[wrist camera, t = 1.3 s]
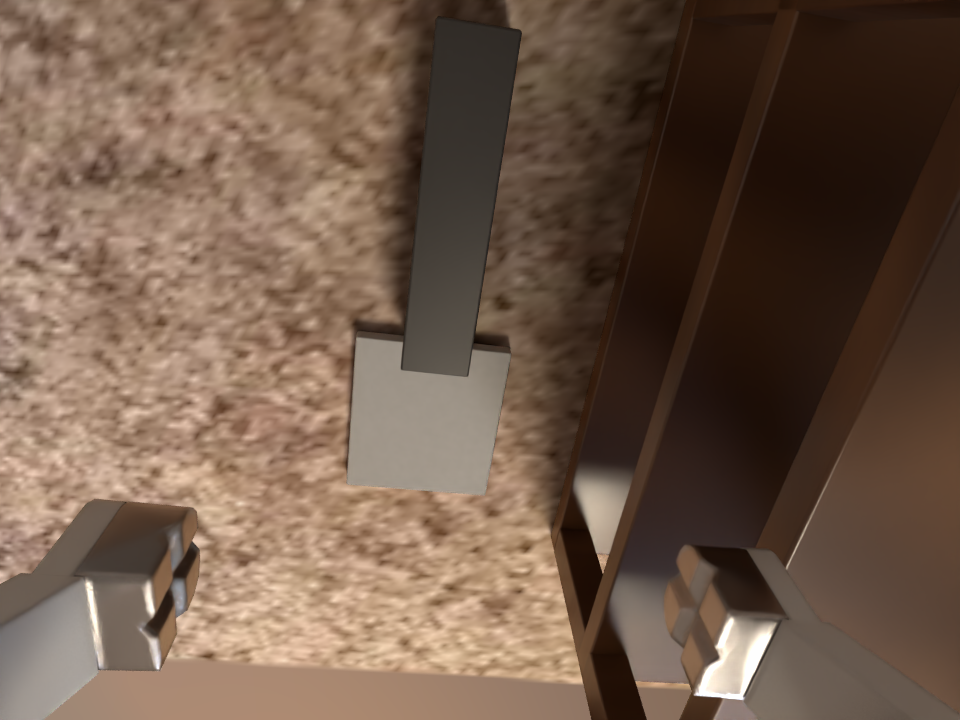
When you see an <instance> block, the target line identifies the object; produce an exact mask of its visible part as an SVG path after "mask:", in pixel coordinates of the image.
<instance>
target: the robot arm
mask: <svg viewBox="0 0 960 720" xmlns="http://www.w3.org/2000/svg"><path fill="white" fill-rule="evenodd" d="M197 529H198V520H197V511H196V510H195V509H194V508H191V507H181V506H171V505H160V504H150V503H140V502H123V501H113V500H102V499H94V500H92V501H90V502H88V503H87V504H85V506H84V507H83V508H82V510H81V511H80V512H79V513H78V515H77V516H76V517H75V519H74V520H73V521H72V522H71V524H70V525H69V526H68V528H67V529H66V530H65V531H64V533H63V534H62V535H61V537H60V538H59V539H58V540H57V542H56V543H55V544H54V546H53V547H52V548H51V549H50V551H49V552H48V553H47V555H46V556H45V557H44V558H43V560H42V561H41V562H40V564H39V565H38V566H37V567H36V569H35V570H34V571H33V573H32V574H25V573H20V574H18V575H17V576H15V577H13V578H11V579H9V580H7V581H5V582H3V583H1V584H0V720H44V719H45V718H46V717H48V716H49V715H50V714H51V713H52V712H53V711H55V710H56V709H57V708H58V707H59V706H61V705H62V704H63V703H64V702H65V701H67V700H68V699H69V698H70V697H71V696H73V695H74V694H75V693H76V692H77V691H78V690H80V689H81V688H82V687H83V686H84V685H86V684H87V683H88V682H89V681H90V680H92V679H93V678H94V677H95V676H96V675H97V674H98V670H126V671H127V670H128V671H160V670H161V668H162V666H163V664H164V661H165V659H166V657H167V655H168V652H169V650H170V648H171V646H172V644H173V641H174V639H175V637H176V635H177V627H176V618H177V617H178V616H180V615H181V614H183V613H184V612H185V611H187V610H188V608H189V605H190V603H191V601H192V598H193V596H194V593H195V589H196V585H197V581H198V577H199V567H200V550H199V548H198V547H197V546H196V545H195V544H194V543H193V542H192V540H193V538H194V535H195V533H196V531H197ZM676 563H677V566H678V568H679V570H680V573H678V574H677V575H676V576H674V577H673V578H672V579H670V580H669V581H668V585H667V588H666V591H665V594H664V617H665V622H666V626H667V629H668V631H669V634H670V637H671V638H672V639H673V640H674V641H675V642H677V643H678V644H679V645H680V646H681V647H682V648H683V649H684V650H683V652H682V655H681V657H680V662H681V665H682V667H683V670H684V672H685V675H686V677H687V680H688V682H689V685H690V687H691V690H692V692H693V695H694V696H708V697H721V698H734V699H744V700H743V702H744V703H745V705H746V706H747V707H748V708H749V709H750V710H751V711H752V712H753V713H754V714H755V715H756V716H757V717H758V718H759V719H760V720H960V713H959V712H957V711H956V710H954V709H953V708H951V707H950V706H949V705H947V704H946V703H944V702H943V701H941V700H940V699H939V698H937V697H936V696H934V695H933V694H931V693H930V692H929V691H927V690H926V689H924V688H923V687H921V686H920V685H919V684H917V683H916V682H914V681H913V680H911V679H910V678H908V677H907V676H906V675H904V674H903V673H901V672H900V671H898V670H897V669H896V668H894V667H893V666H891V665H890V664H888V663H887V662H886V661H884V660H883V659H881V658H880V657H878V656H877V655H876V654H874V653H873V652H871V651H870V650H868V649H867V648H866V647H864V646H863V645H861V644H860V643H858V642H857V641H856V640H854V639H853V638H851V637H850V636H848V635H847V634H846V633H844V632H843V631H841V630H840V629H838V628H837V627H836V626H834V625H833V624H831V623H829V622H821V621H820V619H819V618H818V616H817V615H816V613H815V612H814V610H813V609H812V607H811V606H810V604H809V603H808V601H807V600H806V598H805V597H804V595H803V594H802V592H801V591H800V589H799V588H798V586H797V585H796V584H795V582H794V581H793V579H792V578H791V576H790V575H789V573H788V572H787V570H786V569H785V567H784V566H783V564H782V563H781V561H780V560H779V558H778V557H777V555H776V554H775V553H774V552H772V551H771V550H769V549H762V548H744V547H741V548H734V547H719V546H704V545H689V544H685V545H684V546H683V548H682V549H681V550H680V552H679V554H678V557H677V559H676Z"/></svg>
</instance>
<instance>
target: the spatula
mask: <svg viewBox="0 0 960 720" xmlns="http://www.w3.org/2000/svg"><path fill="white" fill-rule="evenodd" d="M521 35H522V32H521V30H519V29H513V28H507V27H501V26H495V25H489V24H483V23H477V22H471V21H465V20H459V19H453V18H447V17H441V16H438V17H437V18H436V22H435V32H434V42H433V52H432V62H431V72H430V82H429V91H428V101H427V111H426V121H425V131H424V141H423V150H422V160H421V170H420V180H419V190H418V200H417V209H416V219H415V229H414V239H413V249H412V259H411V269H410V278H409V288H408V298H407V308H406V318H405V328H404V336H401V335H392V334H382V333H373V332H364V331H358V332H357V336H356V345H355V360H354V375H353V391H352V406H351V421H350V436H349V452H348V467H347V482H346V483H347V484H348V485H360V486H373V487H385V488H398V489H410V490H422V491H435V492H447V493H459V494H472V495H485V493H486V488H487V482H488V477H489V472H490V466H491V461H492V456H493V450H494V445H495V439H496V434H497V429H498V423H499V418H500V413H501V407H502V402H503V397H504V391H505V386H506V380H507V375H508V370H509V364H510V359H511V350H510V347H502V346H493V345H484V344H475V343H474V337H475V331H476V324H477V318H478V312H479V305H480V299H481V292H482V286H483V279H484V273H485V267H486V260H487V254H488V247H489V241H490V234H491V228H492V222H493V215H494V209H495V202H496V196H497V190H498V183H499V177H500V170H501V164H502V157H503V151H504V145H505V138H506V132H507V125H508V119H509V113H510V106H511V100H512V93H513V87H514V80H515V74H516V68H517V61H518V55H519V48H520V42H521Z"/></svg>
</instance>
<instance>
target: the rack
mask: <svg viewBox="0 0 960 720" xmlns="http://www.w3.org/2000/svg"><path fill="white" fill-rule="evenodd" d="M551 539H552V543H553V548H554V553H555V557H556V562H557V566H558V571H559V575H560V580H561V584H562V589H563V593H564V598H565V602H566V607H567V611H568V616H569V620H570V625H571V629H572V634H573V639H574V643H575V648H576V652H577V657H578V661H579V666H580V670H581V675H582V679H583V684H584V688H585V693H586V697H587V702H588V706H589V711H590V715H591V720H647V719H646V716H645V712H644V709H643V706H642V702H641V699H640V696H639V693H638V689H637V686H636V683H635V681H642V682H663V683H684V684H689V682H688V680H687V677H686V675H685V672H684V670H683V667H682V665H681V662H680V657H681V655H682V652H683V650H684V649H683V648H682V647H681V646H680V645H679V644H678V643H677V642H675V641H674V640H673V639H672V638H671V637H670V634H669V631H668V629H667V626H666V622H665V617H664V594H665V591H666V588H667V585H668V581H669V580H670V579H672V578H673V577H674V576H676V575H677V574H678V573H680V570H679V568H678V566H677V563H676V559H677V557H678V554H679V552H680V550H681V549H682V548H683V546H684V545H685V544H689V545H704V546H719V547H734V548H741V547H744V548H762V549H769V550H771V551H772V552H774V553H775V554H776V555H777V557H778V558H779V560H780V561H781V563H782V564H783V566H784V567H785V569H786V570H787V572H788V573H789V575H790V576H791V578H792V579H793V581H794V582H795V584H796V585H797V586H798V588H799V589H800V591H801V592H802V594H803V595H804V597H805V598H806V600H807V601H808V603H809V604H810V606H811V607H812V609H813V610H814V612H815V613H816V615H817V616H818V618H819V619H820V621H821V622H829V623H831V624H833V625H834V626H836V627H837V628H838V629H840V630H841V631H843V632H844V633H846V634H847V635H848V636H850V637H851V638H853V639H854V640H856V641H857V642H858V643H860V644H861V645H863V646H864V647H866V648H867V649H868V650H870V651H871V652H873V653H874V654H876V655H877V656H878V657H880V658H881V659H883V660H884V661H886V662H887V663H888V664H890V665H891V666H893V667H894V668H896V669H897V670H898V671H900V672H901V673H903V674H904V675H906V676H907V677H908V678H910V679H911V680H913V681H914V682H916V683H917V684H919V685H920V686H921V687H923V688H924V689H926V690H927V691H929V692H930V693H931V694H933V695H934V696H936V697H937V698H939V699H940V700H941V701H943V702H944V703H946V704H947V705H949V706H950V707H951V708H953V709H954V710H956V711H957V712H959V713H960V0H686V3H685V7H684V11H683V15H682V19H681V23H680V27H679V31H678V35H677V39H676V43H675V47H674V50H673V54H672V58H671V62H670V66H669V70H668V74H667V78H666V82H665V86H664V90H663V94H662V98H661V102H660V106H659V110H658V114H657V118H656V122H655V126H654V130H653V134H652V138H651V142H650V146H649V150H648V153H647V157H646V161H645V165H644V169H643V173H642V177H641V181H640V185H639V189H638V193H637V197H636V201H635V205H634V209H633V213H632V217H631V221H630V225H629V229H628V233H627V237H626V241H625V245H624V249H623V253H622V256H621V260H620V264H619V268H618V272H617V276H616V280H615V284H614V288H613V292H612V296H611V300H610V304H609V308H608V312H607V316H606V320H605V324H604V328H603V332H602V336H601V340H600V344H599V348H598V352H597V356H596V359H595V363H594V367H593V371H592V375H591V379H590V383H589V387H588V391H587V395H586V399H585V403H584V407H583V411H582V415H581V419H580V423H579V427H578V431H577V435H576V439H575V443H574V447H573V451H572V455H571V459H570V462H569V466H568V470H567V474H566V478H565V482H564V486H563V490H562V494H561V498H560V502H559V506H558V510H557V514H556V518H555V522H554V526H553V530H552V534H551ZM597 554H607V555H609V557H608V560H607V563H606V566H605V570H604V573H602V570H601V567H600V563H599V560H598V557H597ZM743 700H744V699H734V698H721V697H708V696H694V695H693V692H692V693H691V695H690V697H689V699H688V701H687V704H686V706H685V708H684V710H683V713H682V715H681V717H680V720H760V719H759V718H758V717H757V716H756V715H755V714H754V713H753V712H752V711H751V710H750V709H749V708H748V707H747V706H746V705H745V703H744V702H743Z"/></svg>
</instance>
